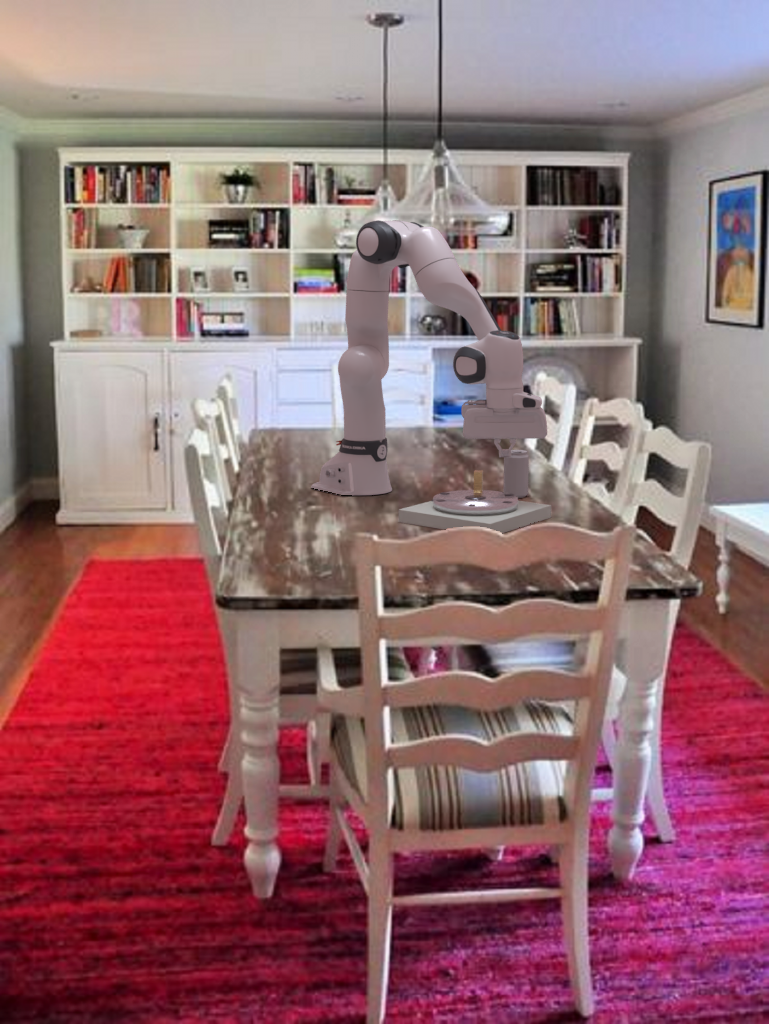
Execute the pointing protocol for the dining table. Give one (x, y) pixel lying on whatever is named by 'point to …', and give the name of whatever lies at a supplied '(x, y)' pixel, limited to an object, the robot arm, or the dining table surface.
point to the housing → (475, 517)
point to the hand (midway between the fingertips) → (505, 456)
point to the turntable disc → (475, 500)
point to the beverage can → (516, 473)
